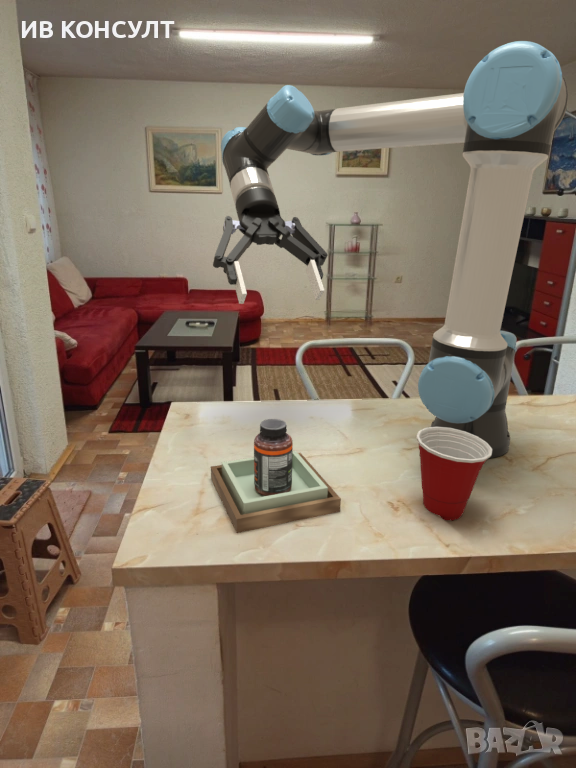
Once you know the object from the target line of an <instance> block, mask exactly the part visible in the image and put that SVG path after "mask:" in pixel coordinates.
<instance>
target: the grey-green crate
mask: <svg viewBox="0 0 576 768" xmlns="http://www.w3.org/2000/svg"><path fill="white" fill-rule="evenodd" d="M292 452H293V453H292V487H291V490H290V491H289V492H286V493H280V494H275V495H270V496H263V495H261V494H259V493H258V492H257V491H256V489H255V484H254V456H253V457H247V458H240V459H234V460H233V459H232V460H226V461H222V462H221V465H222V480H223V482H224V483H225V485H226V487H227V489H228V491H229V493H230V495H231V497H232V499H233V501H234V503H235V505H236V507H237V509H238V511H239V513H240V515H243V514H248V513H254V512H259V511H264V510H269V509H274V508H279V507H284V506H289V505H295V504H300V503H305V502H310V501H315V500H320V499H325V498H327V494H328V487H327V486H326V485H325V484H324V483H323V482H322V480H321V479H320V478H319V477H318V476H317V475H316V474H315V472H314V471H313V470H312V469H311V468H310V467H309V465H308V464H307V463H306V462H305V461H304V460H303V459H302V457H301V456H300V455H299V454H298V453H299V452H297V450H292Z"/></svg>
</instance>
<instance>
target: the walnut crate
mask: <svg viewBox="0 0 576 768" xmlns="http://www.w3.org/2000/svg"><path fill="white" fill-rule="evenodd" d="M297 453H298V454H299V455H300V456H301V457H302V459H303V460H304V461H305V462H306V463H307V464H308V465H309V467H310V468H311V469H312V470H313V471H314V472H315V474H316V475H317V476H318V477H319V478H320V479H321V480H322V482H323V483H324V484H325V485H326V486H327V487H328V494H327V498H325V499H320V500H315V501H310V502H305V503H300V504H295V505H289V506H284V507H279V508H274V509H269V510H264V511H259V512H254V513H248V514H243V515H240V513H239V511H238V509H237V507H236V505H235V503H234V501H233V499H232V497H231V495H230V493H229V491H228V489H227V487H226V485H225V483H224V482H223V480H222V464H219V465H213V466H210V479H211V481H212V484H213V485H214V487H215V491H216V492H217V495H218V496H219V498H220V500H221V502H222V504H223V507H224V509H225V511H226V513H227V515H228V517H229V519H230V520H229V521H230V522H231V523H232V526H233V528H234V530H235V532H236V533H237V534H238V533H243V532H249V531H254V530H259V529H264V528H269V527H273V526H278V525H282V524H287V523H288V524H289V523H292V522H297V521H301V520H307V519H310V518H316V517H321V516H326V515H330V514H336V513H340V512H341V504H342V503H341V502H342V501H341V500H342V498H341V497H340V495H338V494H337V492H336V491H335V490H334V489H333V488H332V487H331V486H330V485H329V484H328V482H327V481H326V480H325V479H324V478H323V476H321V474H320V473H319V472H318V470H316V468H315V467H314V466H313V465H312V464H311V463H310V461H309V460H308V459H307V458H306V457H305V456H304V455H303V453H302V452H297Z"/></svg>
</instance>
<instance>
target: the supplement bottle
mask: <svg viewBox="0 0 576 768" xmlns="http://www.w3.org/2000/svg"><path fill="white" fill-rule="evenodd" d="M287 431H288V430H287V423H286V421H285V420H282V419H279V418H267V419H265V420H263V421H261V422H260V425H259V433H258V434H257V435H256V436H254V440H253V457H254V484H255V489H256V491H257V492H258V493H259V494H261V495H263V496H270V495H275V494H280V493H286V492H289V491H290V490H291V487H292V453H293V452H292V451H294V450H293V444H294V443H293V438H292V436H291V435H290V434H289V433H288V432H287Z"/></svg>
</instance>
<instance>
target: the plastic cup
mask: <svg viewBox="0 0 576 768" xmlns="http://www.w3.org/2000/svg"><path fill="white" fill-rule="evenodd" d="M415 437H416V441H417V443H418V451H419V459H420V480H421V489H422V502H423V503H422V504H423V506H424V508H425V509H426V510H427V511H428V512H430V513H432V514H434V515H436V516H439V517H440V518H441V519H442V520H443V521H455V520H459V519H460V518H461V517H462V516H463V514H464V512H465V509H466V506H467V503H468V502H469V501H468V500H469V499H470V497H471V494H472V492H473V489H474V486H475V484H476V482H477V479H478V476H479V475H480V474H479V473H480V471H481V470H482V468H483V466H484V465H485V464H486V461H487V460H488V459H491V458H490V457H491V455H492V448H491V447H490V446H489V444H488V443H487V442H485V441H484V440H482V439H481V438H479V437H478V436H475V435H473V434H470V433H468V432H465V431H461V430H457V429H453V428H446V427H431V426H430V427H424V428H422V429H420V430H418V432H417V434H416V436H415Z"/></svg>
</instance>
